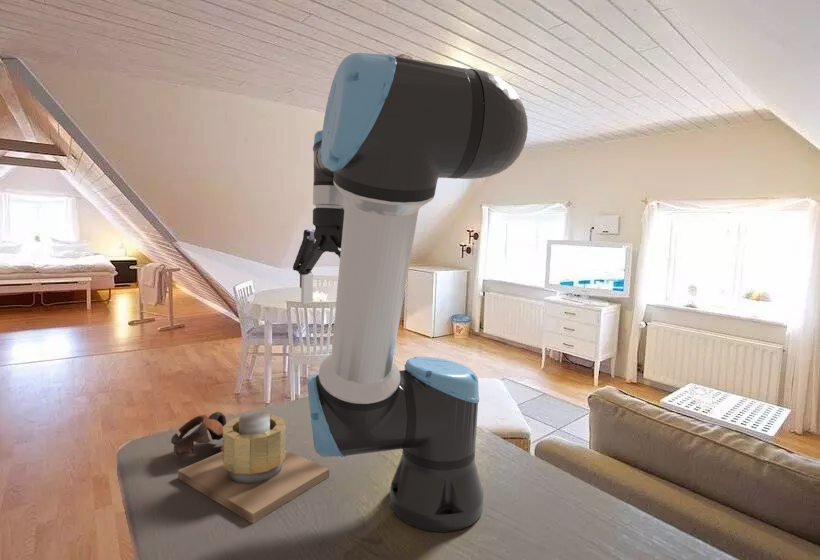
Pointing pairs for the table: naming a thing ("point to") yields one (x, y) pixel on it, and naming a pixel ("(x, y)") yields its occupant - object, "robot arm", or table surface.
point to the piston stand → (253, 477)
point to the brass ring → (253, 447)
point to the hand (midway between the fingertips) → (329, 307)
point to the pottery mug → (199, 432)
